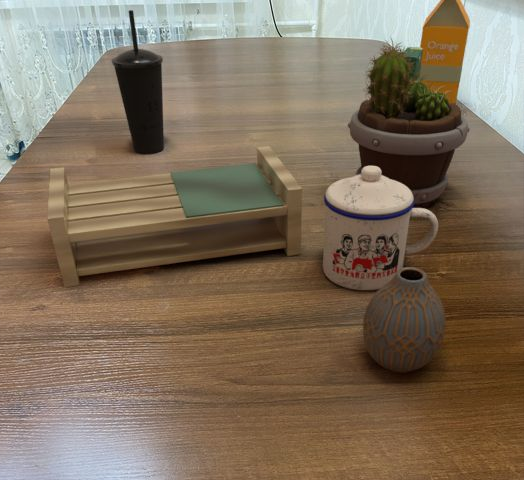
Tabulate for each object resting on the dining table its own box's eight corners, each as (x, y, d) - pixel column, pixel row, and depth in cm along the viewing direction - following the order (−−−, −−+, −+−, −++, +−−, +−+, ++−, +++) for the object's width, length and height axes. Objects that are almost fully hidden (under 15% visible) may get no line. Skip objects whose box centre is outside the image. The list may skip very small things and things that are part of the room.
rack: (64, 230, 76) (50, 168, 71) (269, 205, 81) (269, 146, 76) (64, 287, 65) (47, 218, 60) (300, 254, 70) (302, 188, 65)
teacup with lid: (322, 293, 64) (327, 186, 56) (318, 251, 71) (323, 152, 64) (438, 293, 63) (458, 186, 56) (422, 251, 70) (438, 151, 63)
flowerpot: (424, 170, 90) (447, 18, 78) (475, 213, 78) (511, 42, 66) (330, 180, 88) (338, 25, 76) (367, 226, 76) (384, 51, 64)
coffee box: (397, 127, 106) (406, 45, 98) (413, 128, 105) (424, 45, 97) (388, 142, 100) (398, 55, 92) (406, 144, 99) (417, 56, 91)
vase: (362, 332, 58) (371, 250, 53) (437, 340, 57) (453, 257, 51) (356, 378, 53) (365, 292, 47) (438, 388, 51) (457, 300, 46)
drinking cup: (115, 151, 99) (92, 12, 87) (148, 138, 104) (130, 4, 91) (150, 160, 95) (131, 16, 83) (182, 146, 100) (168, 8, 88)
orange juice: (410, 114, 112) (426, -11, 100) (414, 101, 118) (430, -18, 106) (454, 117, 110) (476, -10, 98) (455, 104, 117) (476, -17, 104)
